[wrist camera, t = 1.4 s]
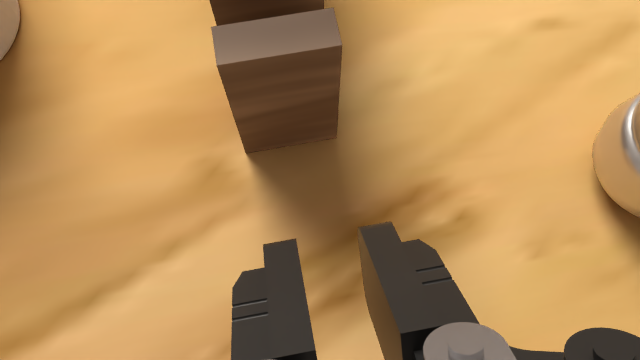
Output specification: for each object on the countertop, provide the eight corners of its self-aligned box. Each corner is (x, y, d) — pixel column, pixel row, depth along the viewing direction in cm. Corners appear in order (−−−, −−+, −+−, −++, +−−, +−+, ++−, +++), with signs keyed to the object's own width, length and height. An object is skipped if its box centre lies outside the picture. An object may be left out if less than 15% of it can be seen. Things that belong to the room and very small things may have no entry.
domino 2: (336, 137, 31) (342, 45, 22) (245, 153, 31) (216, 65, 22) (330, 108, 31) (333, 7, 23) (241, 123, 31) (211, 26, 23)
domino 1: (323, 77, 32) (324, -33, 24) (236, 92, 32) (205, -14, 23) (317, 50, 33) (316, -66, 24) (232, 64, 32) (200, -49, 24)
